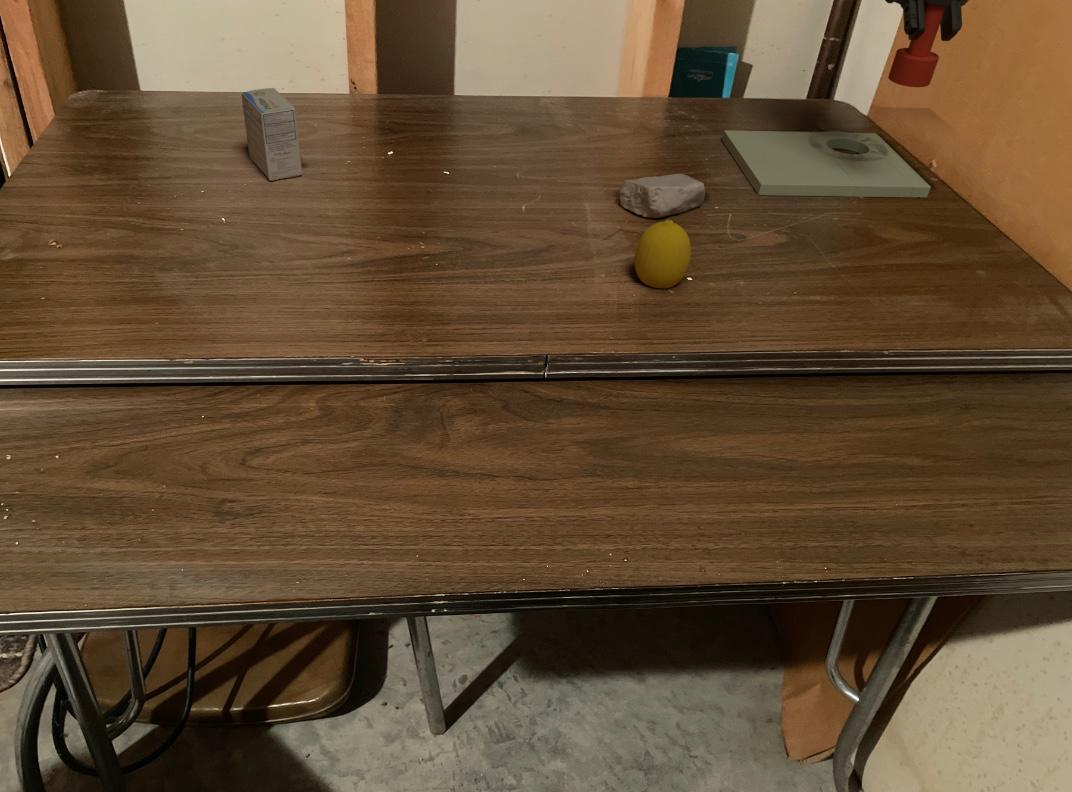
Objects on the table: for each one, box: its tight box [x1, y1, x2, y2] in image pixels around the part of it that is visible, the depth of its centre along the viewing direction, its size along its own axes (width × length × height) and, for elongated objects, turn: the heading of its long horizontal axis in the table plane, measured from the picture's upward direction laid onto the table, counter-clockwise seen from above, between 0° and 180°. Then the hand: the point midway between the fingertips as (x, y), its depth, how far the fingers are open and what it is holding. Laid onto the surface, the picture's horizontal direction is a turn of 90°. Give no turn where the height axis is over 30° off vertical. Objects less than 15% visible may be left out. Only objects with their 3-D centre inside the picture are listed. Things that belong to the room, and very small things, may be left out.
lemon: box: [634, 219, 692, 290], centre depth 93 cm, size 6×6×8 cm
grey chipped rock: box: [619, 173, 706, 219], centre depth 110 cm, size 10×6×6 cm, turn 109°
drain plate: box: [721, 129, 932, 199], centre depth 122 cm, size 22×18×2 cm
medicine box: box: [241, 87, 303, 182], centre depth 113 cm, size 8×4×9 cm, turn 28°
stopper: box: [887, 0, 952, 88], centre depth 103 cm, size 5×5×10 cm
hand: (933, 36), depth 101 cm, fingers closed on stopper, 3 cm apart
